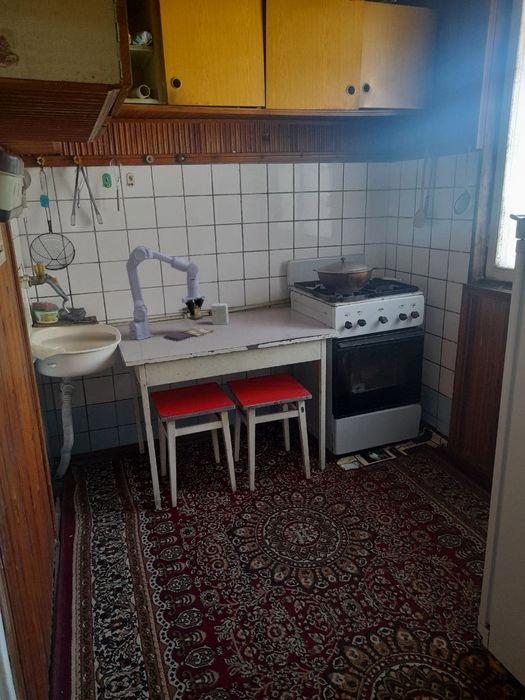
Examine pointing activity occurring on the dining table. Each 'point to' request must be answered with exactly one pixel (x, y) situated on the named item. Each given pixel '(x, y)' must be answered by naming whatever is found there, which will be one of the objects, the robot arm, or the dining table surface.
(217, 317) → the small box
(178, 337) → the ink pad
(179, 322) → the dining table surface
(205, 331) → the board
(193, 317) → the stamp
